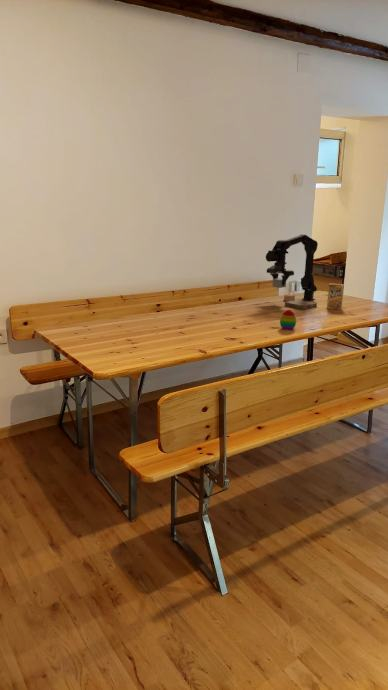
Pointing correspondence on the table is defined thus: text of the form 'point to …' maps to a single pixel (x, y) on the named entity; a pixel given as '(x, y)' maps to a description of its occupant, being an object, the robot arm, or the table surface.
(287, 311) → the decorative egg
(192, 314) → the table surface
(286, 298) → the terracotta cube
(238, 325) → the table surface
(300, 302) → the walnut plinth
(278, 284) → the grey block
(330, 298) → the candy box
